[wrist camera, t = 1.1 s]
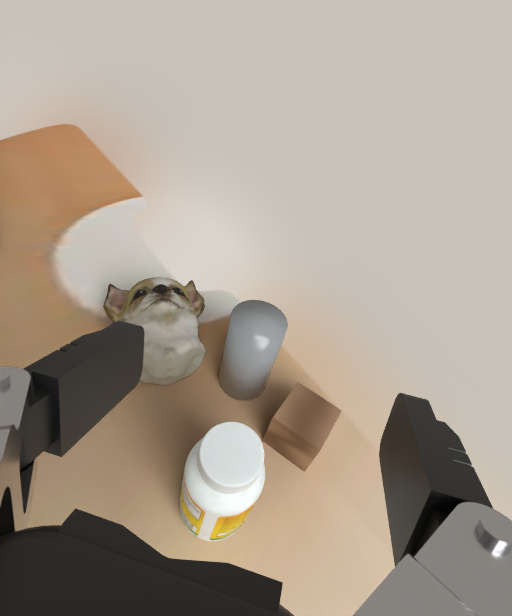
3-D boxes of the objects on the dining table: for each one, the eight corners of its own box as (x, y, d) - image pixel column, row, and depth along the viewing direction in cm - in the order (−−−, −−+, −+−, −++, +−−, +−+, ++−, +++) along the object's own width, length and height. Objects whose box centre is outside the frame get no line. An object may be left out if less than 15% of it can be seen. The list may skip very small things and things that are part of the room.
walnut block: (262, 441, 32) (272, 417, 29) (285, 407, 35) (298, 382, 32) (303, 472, 31) (320, 450, 28) (325, 434, 34) (341, 410, 31)
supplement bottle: (167, 528, 26) (170, 480, 19) (195, 459, 30) (205, 399, 23) (236, 554, 26) (263, 513, 19) (255, 480, 30) (282, 426, 23)
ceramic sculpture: (97, 348, 25) (97, 240, 36) (107, 414, 31) (105, 304, 41) (237, 334, 29) (201, 239, 40) (224, 395, 35) (195, 298, 45)
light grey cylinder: (208, 381, 36) (219, 320, 29) (237, 352, 39) (251, 292, 33) (248, 409, 34) (268, 352, 28) (274, 376, 38) (297, 319, 31)
